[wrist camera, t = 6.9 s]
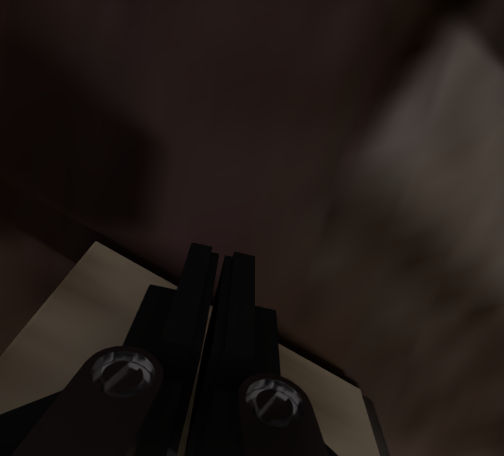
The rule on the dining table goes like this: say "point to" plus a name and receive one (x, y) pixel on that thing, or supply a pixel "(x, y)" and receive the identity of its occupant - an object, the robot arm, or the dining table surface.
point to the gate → (114, 333)
